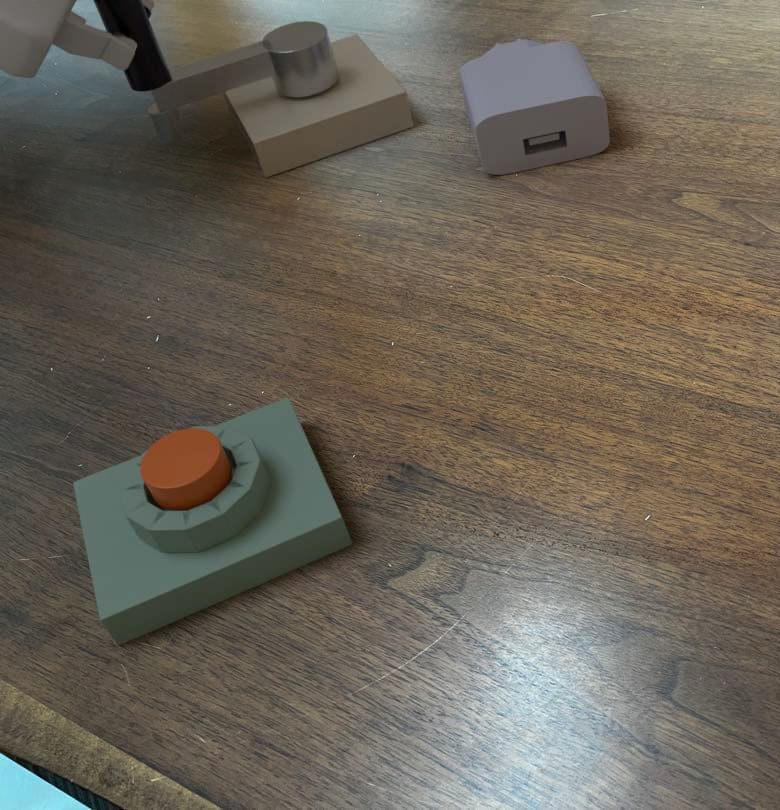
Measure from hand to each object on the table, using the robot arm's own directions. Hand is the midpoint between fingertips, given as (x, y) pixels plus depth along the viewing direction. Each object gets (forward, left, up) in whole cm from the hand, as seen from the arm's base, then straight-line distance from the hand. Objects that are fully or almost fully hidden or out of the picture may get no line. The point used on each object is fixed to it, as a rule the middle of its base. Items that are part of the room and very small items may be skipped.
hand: (141, 36), depth 77 cm
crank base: (+10, 0, -10) cm, 15 cm away
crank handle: (+5, 0, -8) cm, 10 cm away
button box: (-7, -38, -10) cm, 40 cm away
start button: (-7, -38, -7) cm, 39 cm away
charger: (+24, -10, -11) cm, 28 cm away
